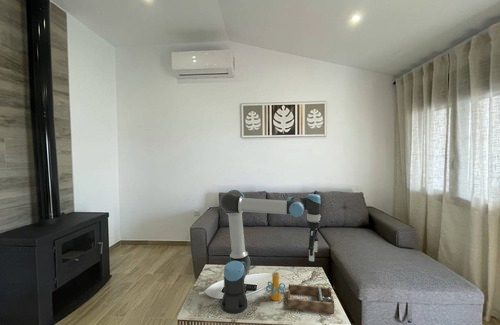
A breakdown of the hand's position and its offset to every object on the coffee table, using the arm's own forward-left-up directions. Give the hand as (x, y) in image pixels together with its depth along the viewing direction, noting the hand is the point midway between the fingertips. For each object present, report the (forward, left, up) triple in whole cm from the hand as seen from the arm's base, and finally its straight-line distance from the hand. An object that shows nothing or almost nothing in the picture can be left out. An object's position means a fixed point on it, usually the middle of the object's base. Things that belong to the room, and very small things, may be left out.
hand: (313, 256), depth 137 cm
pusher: (+7, -2, -26) cm, 27 cm away
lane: (-2, -2, -27) cm, 27 cm away
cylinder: (-22, -2, -27) cm, 35 cm away
